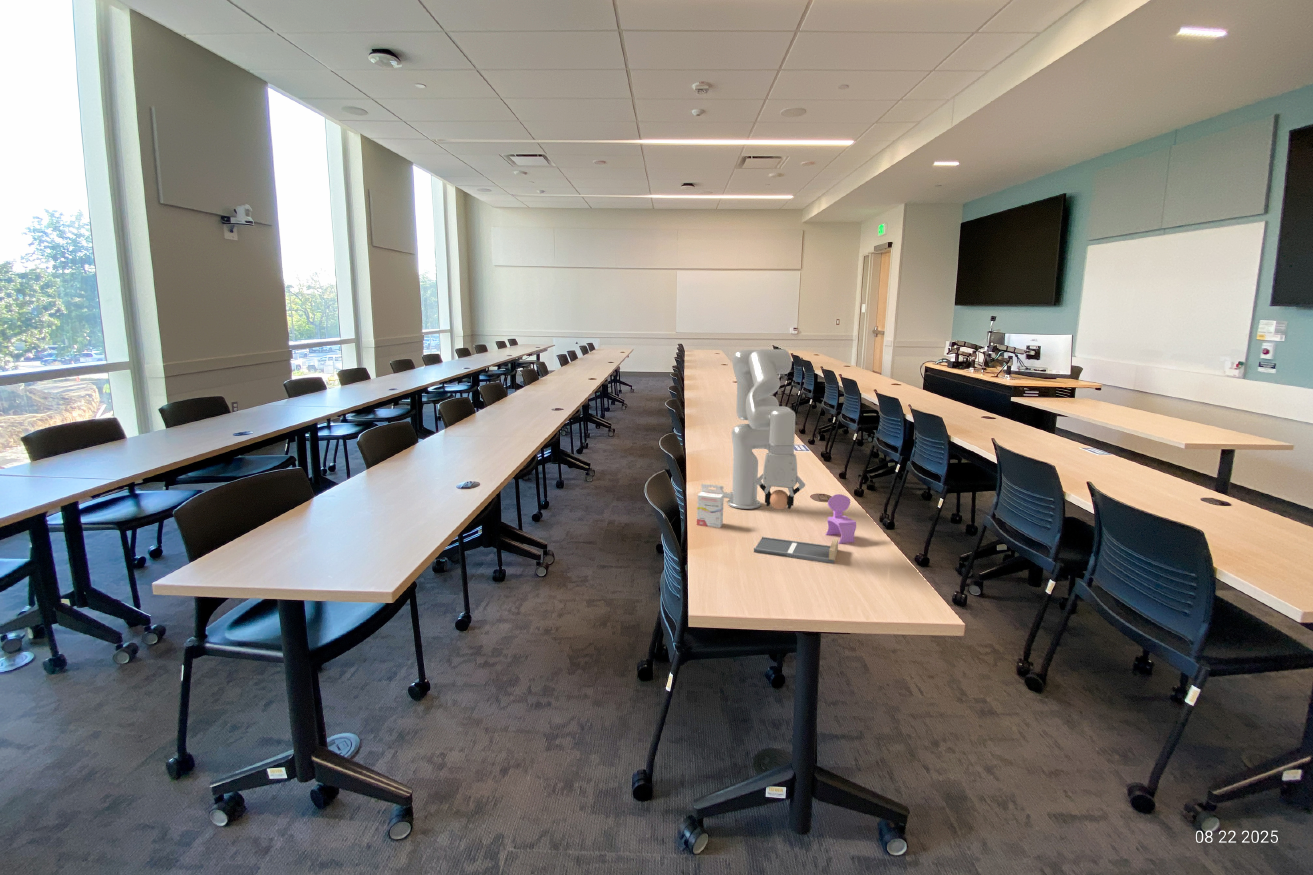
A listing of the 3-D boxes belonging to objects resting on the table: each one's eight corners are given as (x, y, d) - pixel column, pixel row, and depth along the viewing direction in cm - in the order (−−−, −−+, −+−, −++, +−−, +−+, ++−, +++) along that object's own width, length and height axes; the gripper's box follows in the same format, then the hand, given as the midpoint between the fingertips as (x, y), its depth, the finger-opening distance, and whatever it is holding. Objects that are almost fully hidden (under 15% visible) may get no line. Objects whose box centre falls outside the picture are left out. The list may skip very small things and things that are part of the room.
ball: (767, 510, 185) (768, 491, 184) (771, 505, 190) (771, 486, 189) (786, 512, 183) (787, 493, 182) (790, 507, 188) (791, 488, 187)
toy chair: (836, 545, 192) (838, 500, 190) (821, 537, 201) (824, 493, 198) (858, 543, 195) (861, 499, 192) (843, 535, 203) (846, 492, 200)
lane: (753, 552, 186) (754, 539, 185) (761, 540, 197) (762, 528, 196) (833, 563, 177) (834, 550, 176) (837, 550, 188) (838, 538, 187)
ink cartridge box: (696, 527, 210) (697, 486, 207) (699, 523, 214) (700, 483, 212) (720, 529, 207) (721, 488, 204) (723, 525, 211) (724, 485, 209)
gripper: (751, 449, 183) (749, 506, 186) (808, 453, 177) (805, 512, 180) (756, 445, 190) (754, 500, 193) (811, 449, 184) (808, 506, 187)
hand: (779, 506), depth 186 cm, fingers closed on ball, 5 cm apart
